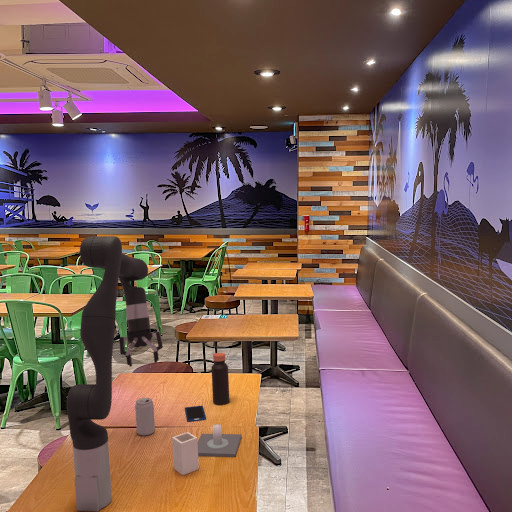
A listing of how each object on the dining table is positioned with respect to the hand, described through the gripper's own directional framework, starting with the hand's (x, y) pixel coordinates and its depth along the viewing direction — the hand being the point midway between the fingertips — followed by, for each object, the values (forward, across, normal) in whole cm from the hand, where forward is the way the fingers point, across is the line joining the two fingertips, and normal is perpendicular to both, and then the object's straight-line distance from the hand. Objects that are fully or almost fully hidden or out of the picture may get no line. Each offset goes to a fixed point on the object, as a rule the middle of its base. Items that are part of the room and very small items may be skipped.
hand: (143, 364), depth 178 cm
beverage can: (+25, -3, +10) cm, 27 cm away
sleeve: (+32, +11, -17) cm, 38 cm away
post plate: (+30, +22, -4) cm, 37 cm away
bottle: (+22, +25, +34) cm, 47 cm away
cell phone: (+24, +14, +24) cm, 37 cm away
